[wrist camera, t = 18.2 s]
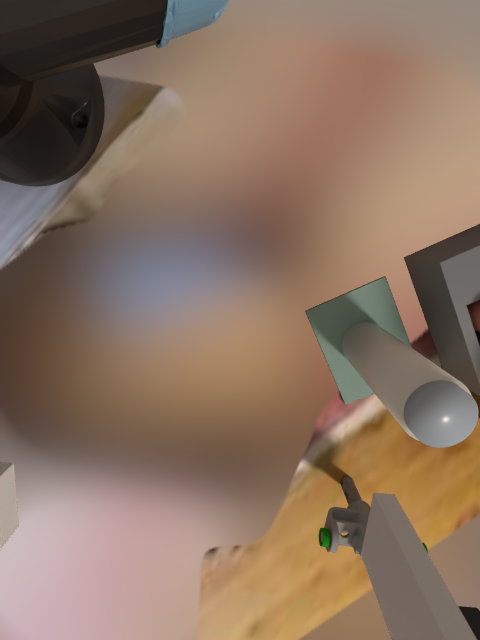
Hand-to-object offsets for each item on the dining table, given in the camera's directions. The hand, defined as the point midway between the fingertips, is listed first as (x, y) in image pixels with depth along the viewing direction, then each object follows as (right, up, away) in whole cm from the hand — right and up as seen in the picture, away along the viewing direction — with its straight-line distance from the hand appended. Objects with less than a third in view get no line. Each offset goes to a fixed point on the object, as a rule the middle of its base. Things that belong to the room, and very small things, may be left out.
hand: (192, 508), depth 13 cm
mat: (+15, +4, +26) cm, 31 cm away
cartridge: (+15, +4, +26) cm, 30 cm away
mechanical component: (+15, -13, +30) cm, 36 cm away
